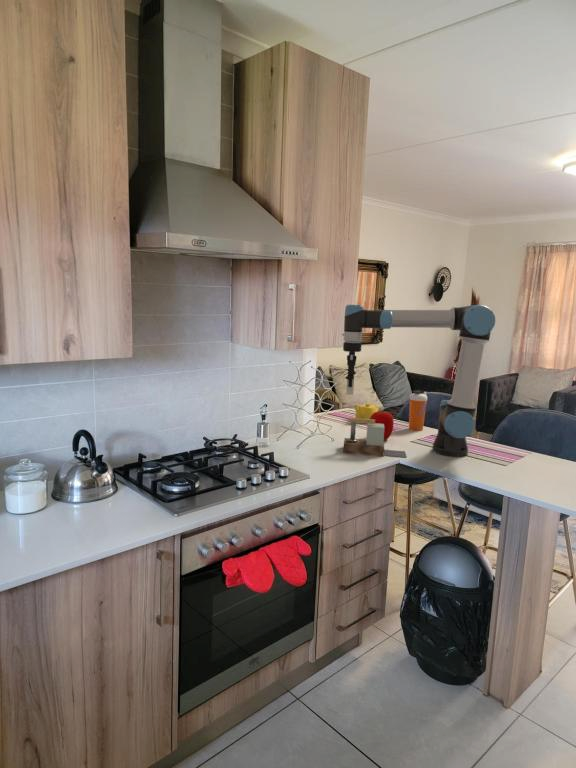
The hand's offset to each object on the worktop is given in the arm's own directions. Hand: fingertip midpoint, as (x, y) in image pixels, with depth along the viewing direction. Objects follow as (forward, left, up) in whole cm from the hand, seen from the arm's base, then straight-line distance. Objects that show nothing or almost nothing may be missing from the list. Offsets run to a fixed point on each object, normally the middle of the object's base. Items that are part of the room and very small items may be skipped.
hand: (350, 392), depth 225 cm
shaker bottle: (-34, -53, -26) cm, 68 cm away
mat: (-21, -2, -26) cm, 33 cm away
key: (-6, -2, -21) cm, 22 cm away
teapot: (-9, -62, -26) cm, 67 cm away
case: (-7, -2, -26) cm, 27 cm away
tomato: (-15, -26, -26) cm, 40 cm away
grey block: (-12, -2, -22) cm, 25 cm away
